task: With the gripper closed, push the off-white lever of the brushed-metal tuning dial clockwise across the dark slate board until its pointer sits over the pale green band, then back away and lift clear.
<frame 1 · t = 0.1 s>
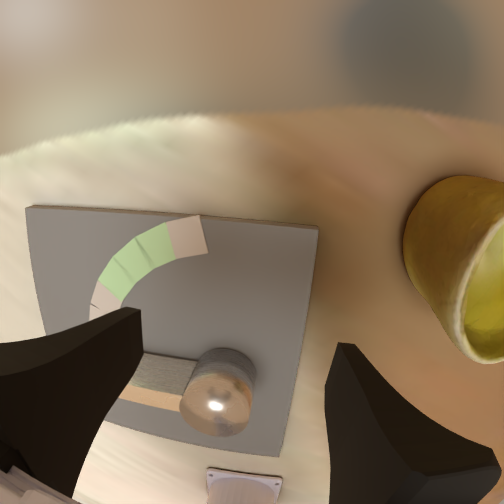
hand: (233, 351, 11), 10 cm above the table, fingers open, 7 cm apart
mug: (464, 257, 19), on the table
tuner board: (229, 363, 23), on the table
tuning dial: (161, 383, 21), point 3 cm above the table, hinge at 92.0°
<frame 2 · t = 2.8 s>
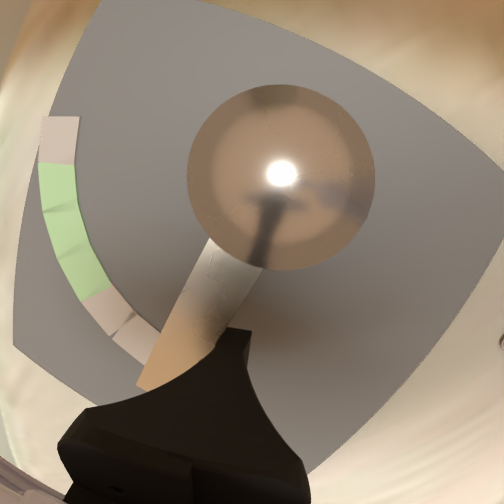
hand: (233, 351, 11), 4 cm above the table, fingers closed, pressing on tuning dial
tuner board: (284, 168, 13), on the table
tuning dial: (216, 286, 11), point 3 cm above the table, hinge at 86.9°, touching gripper
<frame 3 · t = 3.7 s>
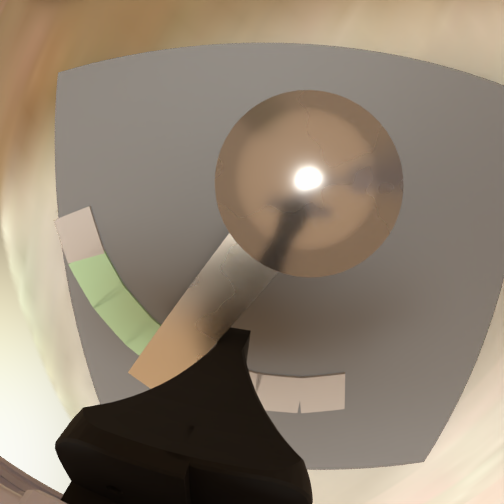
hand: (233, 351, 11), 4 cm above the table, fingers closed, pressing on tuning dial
tuner board: (302, 171, 12), on the table
tuning dial: (223, 282, 10), point 3 cm above the table, hinge at 54.4°, touching gripper
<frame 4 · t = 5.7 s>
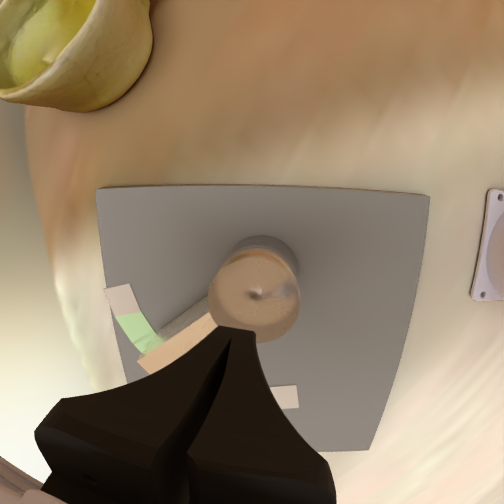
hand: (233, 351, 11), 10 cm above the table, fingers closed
mug: (120, 35, 17), on the table
tuner board: (263, 264, 20), on the table
tuning dial: (201, 324, 18), point 3 cm above the table, hinge at 39.5°
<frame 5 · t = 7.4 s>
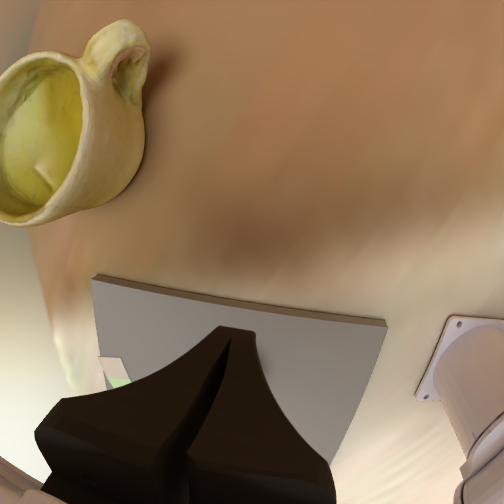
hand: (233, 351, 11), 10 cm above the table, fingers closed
mug: (113, 123, 19), on the table
tuner board: (234, 360, 23), on the table
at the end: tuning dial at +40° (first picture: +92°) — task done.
